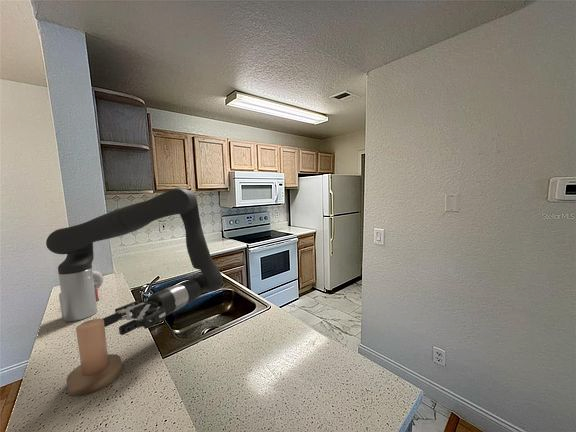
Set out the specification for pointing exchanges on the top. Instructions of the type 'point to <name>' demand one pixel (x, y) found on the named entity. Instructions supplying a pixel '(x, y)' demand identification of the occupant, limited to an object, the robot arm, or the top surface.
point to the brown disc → (93, 378)
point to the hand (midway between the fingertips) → (110, 327)
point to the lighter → (96, 290)
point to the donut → (98, 278)
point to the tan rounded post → (92, 347)
